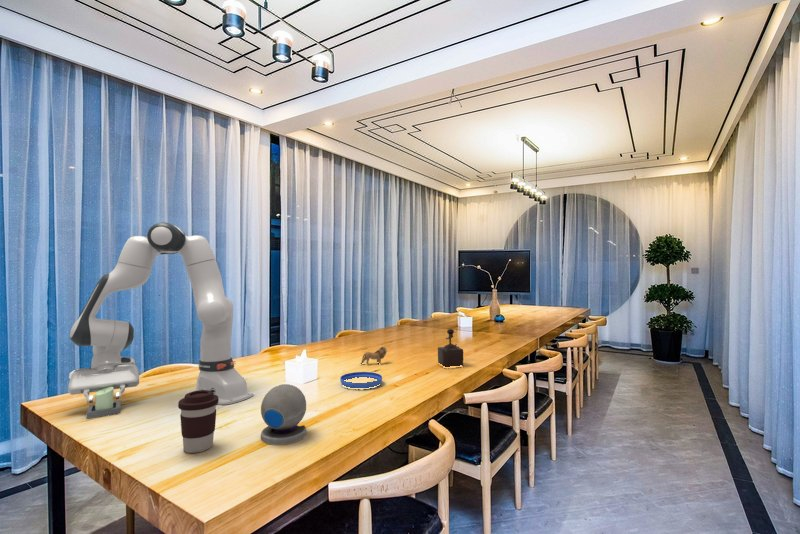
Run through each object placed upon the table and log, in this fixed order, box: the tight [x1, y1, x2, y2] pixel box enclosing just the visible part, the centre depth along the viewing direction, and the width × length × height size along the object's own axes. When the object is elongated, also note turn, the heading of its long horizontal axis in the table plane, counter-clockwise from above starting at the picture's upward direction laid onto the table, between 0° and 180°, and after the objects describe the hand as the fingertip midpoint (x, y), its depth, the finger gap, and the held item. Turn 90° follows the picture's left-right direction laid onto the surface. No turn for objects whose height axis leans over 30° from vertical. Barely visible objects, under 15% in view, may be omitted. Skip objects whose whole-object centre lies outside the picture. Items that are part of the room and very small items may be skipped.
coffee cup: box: [177, 390, 219, 454], centre depth 110 cm, size 10×10×15 cm
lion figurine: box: [360, 346, 387, 365], centre depth 209 cm, size 15×5×9 cm, turn 112°
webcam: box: [260, 383, 307, 446], centre depth 118 cm, size 13×13×15 cm
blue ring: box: [339, 371, 383, 388], centre depth 172 cm, size 18×18×4 cm
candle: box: [94, 387, 114, 411], centre depth 137 cm, size 5×5×8 cm
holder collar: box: [85, 400, 122, 420], centre depth 137 cm, size 9×9×2 cm
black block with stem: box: [437, 328, 464, 367], centre depth 208 cm, size 16×11×18 cm
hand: (104, 400), depth 137 cm, fingers open, 6 cm apart
